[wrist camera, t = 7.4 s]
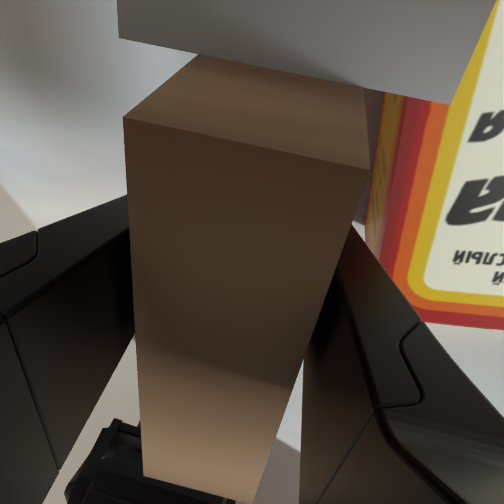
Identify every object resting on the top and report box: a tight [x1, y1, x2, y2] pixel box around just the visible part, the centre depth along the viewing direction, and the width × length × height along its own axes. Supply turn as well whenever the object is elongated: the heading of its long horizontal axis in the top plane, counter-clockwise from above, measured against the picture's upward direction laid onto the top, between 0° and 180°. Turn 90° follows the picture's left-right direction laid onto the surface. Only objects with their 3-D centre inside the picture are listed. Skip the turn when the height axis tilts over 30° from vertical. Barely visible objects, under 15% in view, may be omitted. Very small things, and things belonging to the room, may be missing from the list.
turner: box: [117, 0, 496, 504], centre depth 8 cm, size 16×6×4 cm, turn 172°
